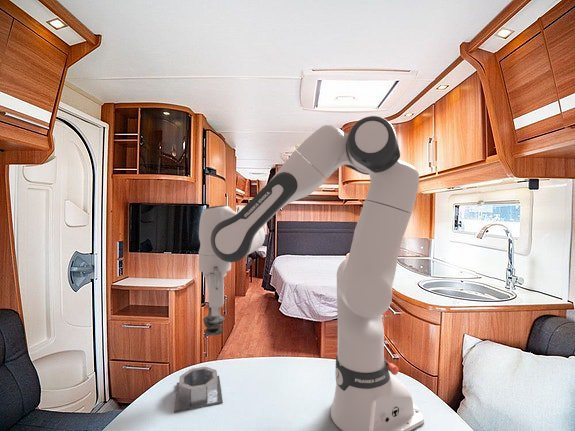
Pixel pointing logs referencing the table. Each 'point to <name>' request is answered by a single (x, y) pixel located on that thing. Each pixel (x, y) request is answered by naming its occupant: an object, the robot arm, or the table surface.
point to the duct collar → (197, 389)
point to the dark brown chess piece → (213, 323)
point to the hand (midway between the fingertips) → (214, 312)
